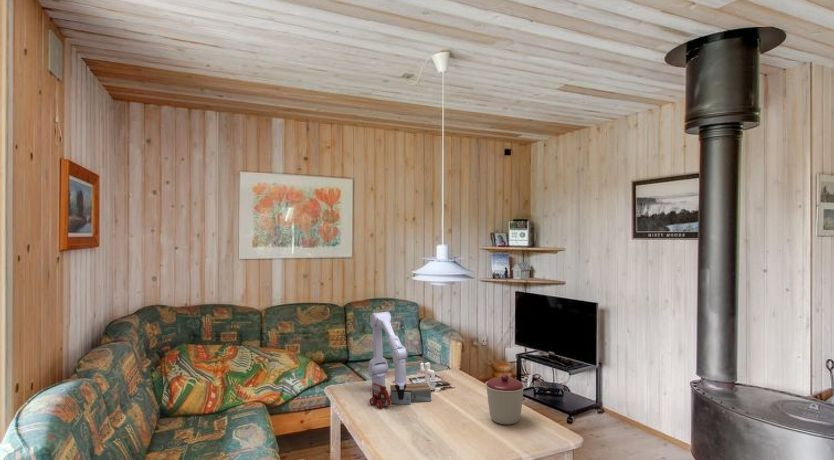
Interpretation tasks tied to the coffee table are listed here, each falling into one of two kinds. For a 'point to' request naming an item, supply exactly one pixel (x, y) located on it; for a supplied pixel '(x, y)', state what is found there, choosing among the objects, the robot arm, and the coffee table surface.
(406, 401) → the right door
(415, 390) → the cabinet
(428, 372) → the figurine
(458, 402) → the coffee table surface
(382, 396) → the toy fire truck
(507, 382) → the canister
